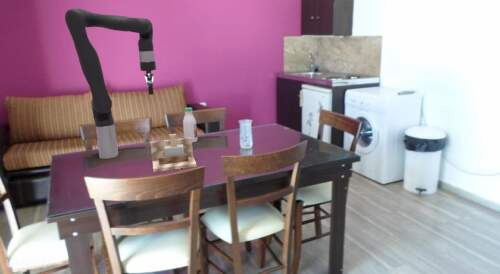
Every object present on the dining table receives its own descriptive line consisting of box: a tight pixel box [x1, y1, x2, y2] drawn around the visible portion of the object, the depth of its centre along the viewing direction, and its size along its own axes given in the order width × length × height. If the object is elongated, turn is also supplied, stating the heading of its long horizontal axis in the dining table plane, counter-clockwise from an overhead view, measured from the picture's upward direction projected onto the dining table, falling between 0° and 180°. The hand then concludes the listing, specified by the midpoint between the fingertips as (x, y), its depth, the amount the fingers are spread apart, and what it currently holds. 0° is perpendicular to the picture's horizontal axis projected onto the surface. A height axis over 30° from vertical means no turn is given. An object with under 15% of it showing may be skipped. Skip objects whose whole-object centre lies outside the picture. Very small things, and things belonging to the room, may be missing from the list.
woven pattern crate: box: [149, 137, 197, 173], centre depth 187 cm, size 20×14×11 cm
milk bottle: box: [182, 106, 199, 144], centre depth 226 cm, size 8×8×20 cm
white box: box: [164, 133, 184, 157], centre depth 189 cm, size 9×5×13 cm, turn 103°
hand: (151, 93), depth 195 cm, fingers open, 8 cm apart
